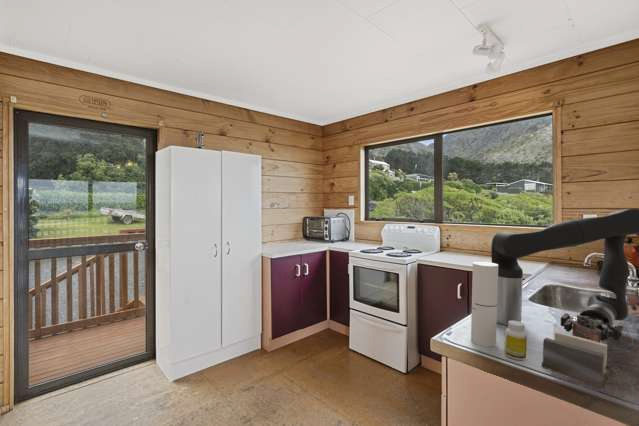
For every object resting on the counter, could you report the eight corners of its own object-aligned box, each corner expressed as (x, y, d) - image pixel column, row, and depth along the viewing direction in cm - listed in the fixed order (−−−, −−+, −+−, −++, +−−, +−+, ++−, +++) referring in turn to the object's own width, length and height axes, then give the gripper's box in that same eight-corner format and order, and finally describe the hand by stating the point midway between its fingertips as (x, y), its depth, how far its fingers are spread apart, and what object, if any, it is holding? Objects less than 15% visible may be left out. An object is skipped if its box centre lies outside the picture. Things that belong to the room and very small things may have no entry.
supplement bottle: (529, 361, 90) (530, 327, 89) (508, 359, 91) (509, 325, 90) (521, 352, 95) (522, 320, 94) (501, 350, 96) (502, 318, 95)
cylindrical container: (486, 348, 97) (488, 267, 96) (466, 339, 104) (467, 262, 102) (501, 343, 101) (503, 264, 99) (480, 335, 107) (482, 260, 106)
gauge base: (554, 353, 94) (555, 328, 94) (610, 371, 85) (611, 343, 84) (541, 366, 87) (542, 339, 87) (601, 387, 77) (602, 357, 77)
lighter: (567, 344, 96) (569, 312, 96) (578, 344, 97) (579, 311, 96) (592, 358, 88) (594, 322, 88) (604, 357, 89) (605, 322, 88)
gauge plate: (555, 351, 93) (556, 331, 92) (609, 368, 84) (610, 345, 83) (554, 353, 92) (555, 332, 91) (608, 369, 83) (609, 347, 82)
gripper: (569, 301, 107) (554, 312, 96) (628, 313, 96) (619, 327, 85) (568, 323, 107) (553, 337, 97) (627, 337, 96) (617, 355, 86)
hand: (584, 332), depth 91 cm, fingers closed on lighter, 7 cm apart
